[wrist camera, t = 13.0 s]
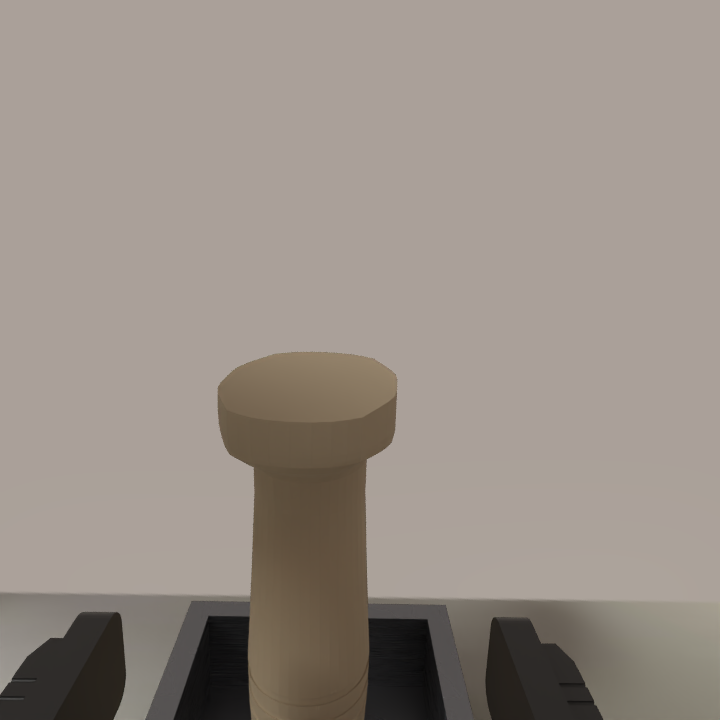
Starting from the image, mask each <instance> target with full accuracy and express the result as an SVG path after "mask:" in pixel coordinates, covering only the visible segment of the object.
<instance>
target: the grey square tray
mask: <svg viewBox="0 0 720 720" xmlns="http://www.w3.org/2000/svg"><path fill="white" fill-rule="evenodd" d="M249 621H250V602H218V601H192V602H191V605H190V607H189V610H188V612H187V615H186V617H185V620H184V622H183V625H182V628H181V630H180V633H179V635H178V638H177V640H176V643H175V645H174V648H173V651H172V653H171V656H170V658H169V661H168V663H167V666H166V668H165V671H164V674H163V676H162V679H161V681H160V684H159V686H158V689H157V691H156V694H155V697H154V699H153V702H152V704H151V707H150V709H149V712H148V714H147V717H146V720H251V710H250V696H249V676H248V643H249ZM368 626H369V667H368V686H367V698H366V706H365V717H364V720H474V718H473V714H472V710H471V706H470V702H469V698H468V694H467V690H466V686H465V682H464V677H463V673H462V669H461V665H460V661H459V657H458V653H457V649H456V645H455V641H454V637H453V633H452V629H451V625H450V621H449V617H448V613H447V609H446V605H408V604H368Z"/></svg>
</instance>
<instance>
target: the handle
mask: <svg viewBox="0 0 720 720" xmlns="http://www.w3.org/2000/svg"><path fill="white" fill-rule="evenodd" d="M396 399H397V377H396V374H394V373H393V372H392V371H391V370H390V369H389V368H387V367H386V366H384V365H383V364H381V363H380V362H378V361H376V360H375V359H373V358H368V357H364V356H358V355H351V354H342V353H328V352H292V353H280V354H273V355H270V356H267V357H264V358H261V359H258V360H255V361H252V362H249V363H246V364H244V365H242V366H239V367H237V368H236V369H235V370H233V371H232V372H231V373H230V374H229V375H228V376H227V377H226V378H225V379H224V380H223V381H222V382H221V383H220V385H219V386H218V417H219V426H220V431H221V435H222V439H223V442H224V445H225V447H226V449H227V451H228V452H229V454H230V455H232V456H233V457H235V458H237V459H239V460H241V461H243V462H244V463H246V464H248V465H250V466H252V467H254V487H255V488H254V489H255V494H254V495H255V496H254V497H255V498H254V523H253V552H252V577H251V599H250V621H249V643H248V676H249V696H250V710H251V720H364V717H365V706H366V698H367V686H368V667H369V626H368V595H367V594H368V593H367V560H366V557H367V556H366V508H365V507H366V505H365V484H366V462H367V459H368V458H370V457H372V456H374V455H376V454H378V453H379V452H381V451H382V450H384V449H385V448H386V447H387V446H389V445H390V443H391V442H392V439H393V436H394V432H395V419H396Z"/></svg>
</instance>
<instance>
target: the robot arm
mask: <svg viewBox="0 0 720 720" xmlns="http://www.w3.org/2000/svg"><path fill="white" fill-rule="evenodd" d="M125 679H126V668H125V656H124V644H123V631H122V620H121V616H120V614H119V613H118V612H82V613H80V614H79V615H78V616H77V618H76V619H75V621H74V622H73V624H72V625H71V627H70V628H69V630H68V631H67V633H66V635H65V636H64V638H50V639H49V640H48V641H46V642H45V643H44V644H42V645H41V646H40V647H39V648H37V649H36V650H35V651H34V652H32V653H31V654H30V655H29V656H27V658H26V659H25V661H24V662H23V663H22V665H21V666H20V668H19V669H18V670H17V672H16V673H15V675H14V676H13V678H12V681H11V683H8V685H7V686H6V687H5V689H4V690H3V692H2V693H1V695H0V720H113V719H114V717H115V715H116V712H117V710H118V708H119V706H120V703H121V700H122V696H123V692H124V687H125ZM486 695H487V702H488V707H489V711H490V715H491V718H492V720H603V718H602V716H601V714H600V712H599V710H598V708H597V706H595V705H594V700H593V698H592V696H591V694H590V692H589V690H588V688H586V687H585V682H584V680H583V678H582V676H581V674H580V672H579V670H578V669H577V667H576V665H575V663H574V661H573V660H572V659H571V658H570V657H568V656H567V655H566V654H565V653H564V652H563V651H562V650H561V649H560V648H559V647H558V646H557V645H556V644H541V643H540V640H539V638H538V636H537V634H536V632H535V629H534V627H533V625H532V623H531V621H530V620H529V619H528V618H505V617H494V618H493V620H492V623H491V630H490V640H489V649H488V659H487V668H486Z"/></svg>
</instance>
